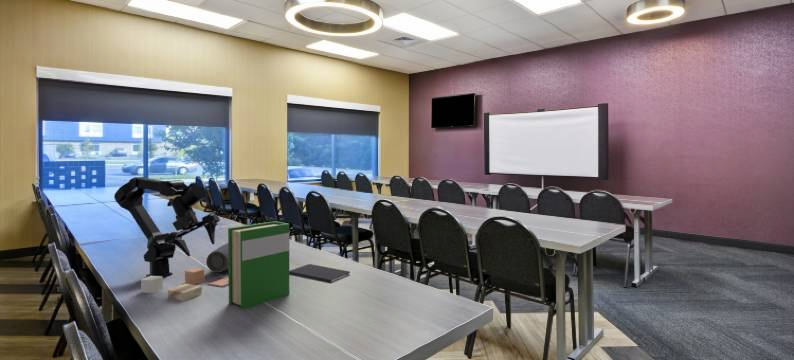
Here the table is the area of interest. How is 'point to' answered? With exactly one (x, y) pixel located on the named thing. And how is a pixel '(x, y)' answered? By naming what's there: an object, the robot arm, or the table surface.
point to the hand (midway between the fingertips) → (201, 250)
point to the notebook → (319, 273)
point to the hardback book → (258, 263)
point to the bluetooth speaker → (218, 259)
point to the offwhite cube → (151, 284)
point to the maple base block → (184, 292)
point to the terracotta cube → (194, 276)
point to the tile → (220, 283)
